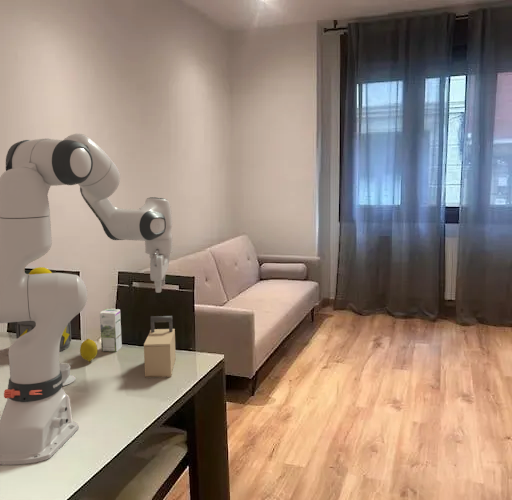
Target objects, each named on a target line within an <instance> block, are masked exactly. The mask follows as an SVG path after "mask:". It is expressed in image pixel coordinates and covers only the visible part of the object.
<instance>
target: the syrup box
mask: <svg viewBox="0 0 512 500" xmlns="http://www.w3.org/2000/svg"><path fill="white" fill-rule="evenodd" d="M121 316H122V315H121V309H119V308H117V309H115V308H113V309H112V308H105V309H103V310H101V311H100V312H99V325H100V343H101V352H110V353H113V352H118V351H120V350H121V349H122V347H123V343H122V340H123V339H122V325H121V323H122V322H121V320H122V319H121Z"/></svg>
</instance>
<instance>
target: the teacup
mask: <svg viewBox="0 0 512 500" xmlns="http://www.w3.org/2000/svg"><path fill="white" fill-rule="evenodd" d="M59 366H60V371H61V372H62V377H63V381H62V382H63V386H62V387H64V386H67V385H69V384H70V385H71V384H72V383H74V382H75V381H76V376H74V375H73V374H71V365H70V364H69V363H67V362H65V363H63V362H62V363H60V362H59Z"/></svg>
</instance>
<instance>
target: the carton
mask: <svg viewBox="0 0 512 500" xmlns="http://www.w3.org/2000/svg"><path fill="white" fill-rule="evenodd" d="M143 355H144V359H143V361H144V363H143V364H144V379H152V378H154V379H155V378H172V375H173V372H174V371H173V370H174V367H175V363H176V331H175V332H174V335H173V338H172V341H171V344H170V346H144V345H143Z"/></svg>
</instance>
